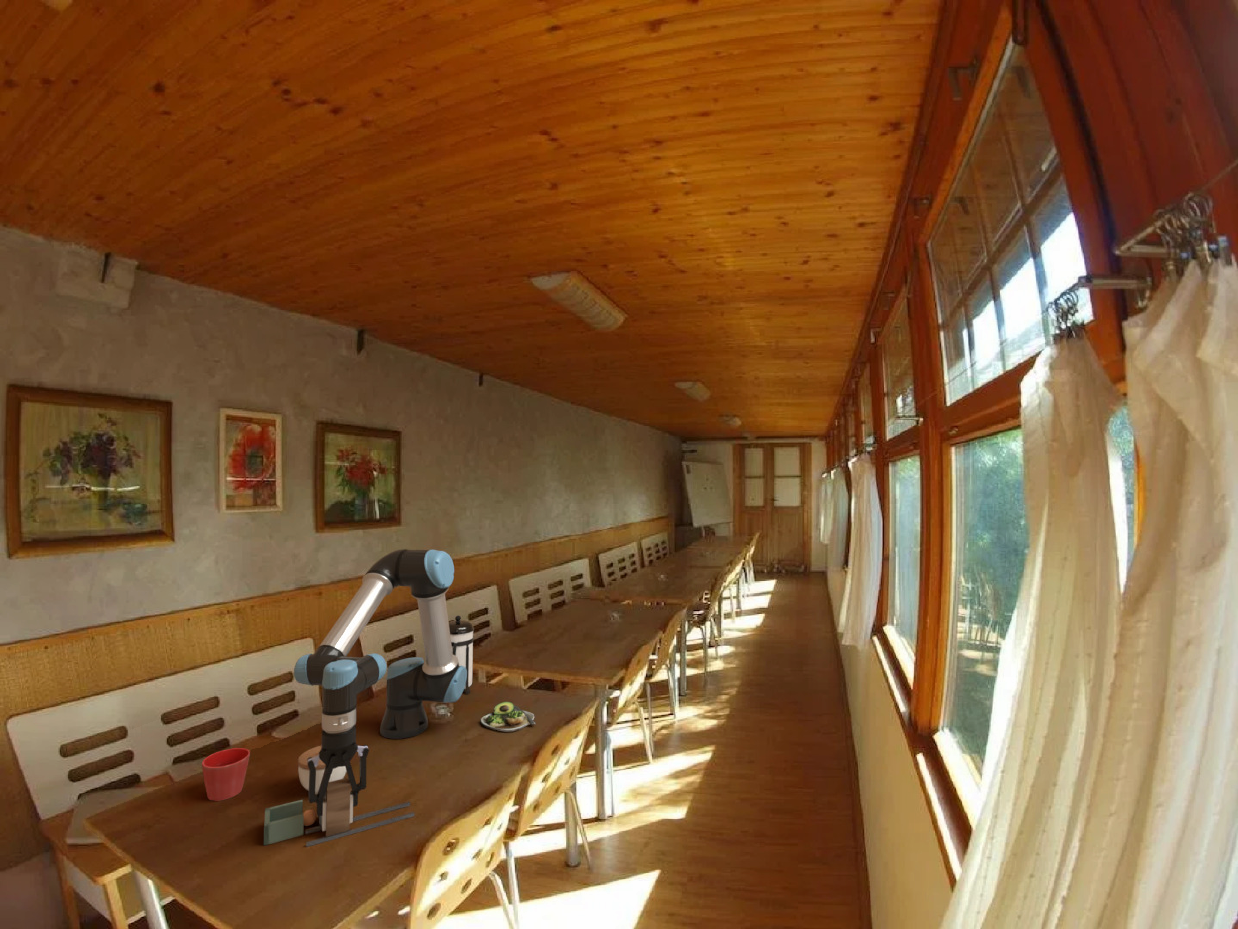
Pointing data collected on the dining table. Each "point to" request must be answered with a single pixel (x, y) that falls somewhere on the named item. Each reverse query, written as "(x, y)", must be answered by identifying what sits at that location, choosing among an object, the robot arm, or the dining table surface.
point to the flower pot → (225, 773)
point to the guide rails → (362, 826)
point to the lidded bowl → (304, 770)
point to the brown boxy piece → (337, 807)
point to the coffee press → (463, 646)
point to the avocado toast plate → (507, 718)
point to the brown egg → (309, 817)
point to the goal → (283, 822)
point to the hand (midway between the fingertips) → (337, 823)
